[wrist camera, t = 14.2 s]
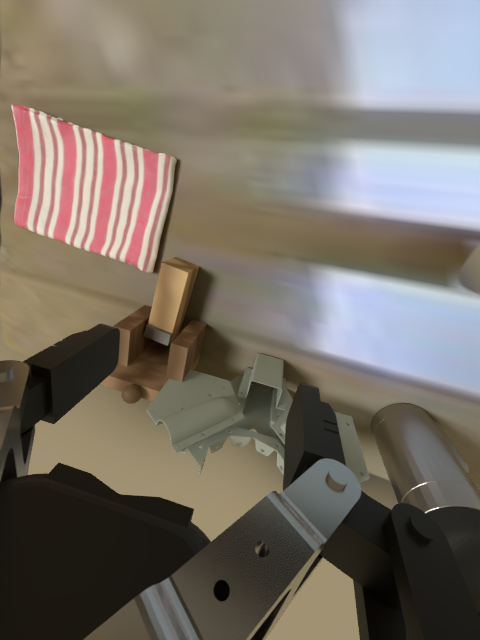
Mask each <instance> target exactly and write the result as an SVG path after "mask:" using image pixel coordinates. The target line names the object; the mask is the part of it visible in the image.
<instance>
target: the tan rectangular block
mask: <svg viewBox="0 0 480 640" xmlns="http://www.w3.org/2000/svg"><path fill="white" fill-rule="evenodd" d="M198 269H199V266H197V265H194V264H192V263H189V262H187V261H184V260H182V259H179V258H176V257H174V258H172V259H169V260H167V261H164V262H162V264H161V269H160V273H159V278H158V282H157V287H156V291H155V295H154V300H153V304H152V309H151V313H150V318H149V322H148V324H147V325H146V329H145V333H144V337H147V338H149V339H152V340H154V341H157V342H159V343H162V344H164V345H167V346H168V345H169V344H170V343H171V342H172V341H173V339H174V338H175V337H176V336H177V335H178V334H179V333H180V332H181V329H182V325H183V321H184V318H185V314H186V311H187V307H188V304H189V300H190V297H191V293H192V290H193V286H194V283H195V279H196V276H197V272H198Z"/></svg>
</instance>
